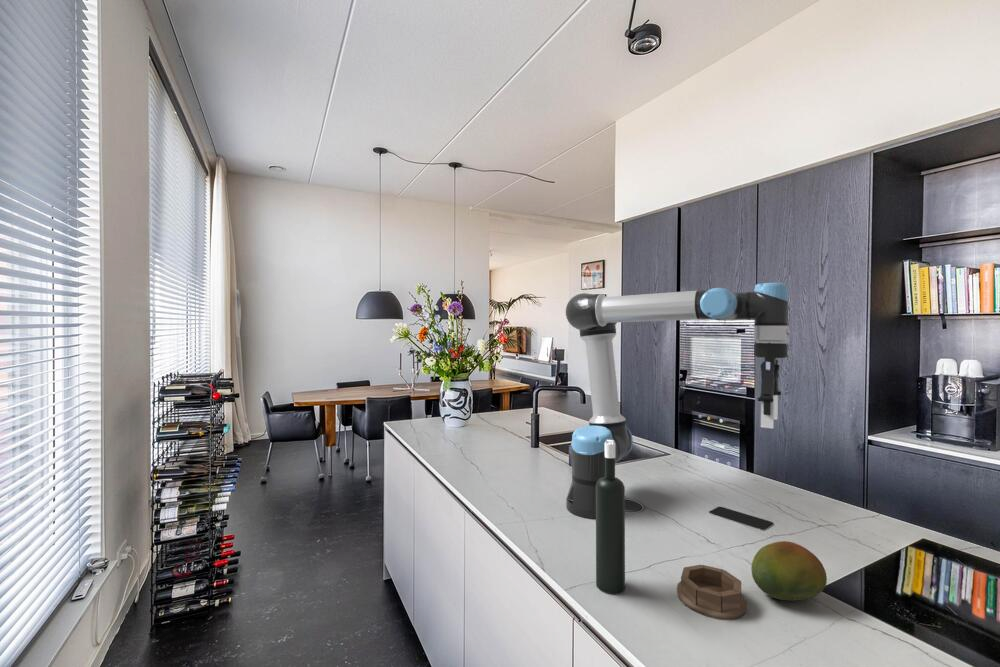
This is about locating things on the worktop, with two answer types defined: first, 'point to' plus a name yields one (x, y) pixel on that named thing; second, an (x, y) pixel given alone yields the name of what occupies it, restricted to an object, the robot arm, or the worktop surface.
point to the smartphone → (742, 518)
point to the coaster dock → (711, 592)
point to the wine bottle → (610, 527)
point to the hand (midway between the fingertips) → (769, 423)
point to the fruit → (788, 571)
